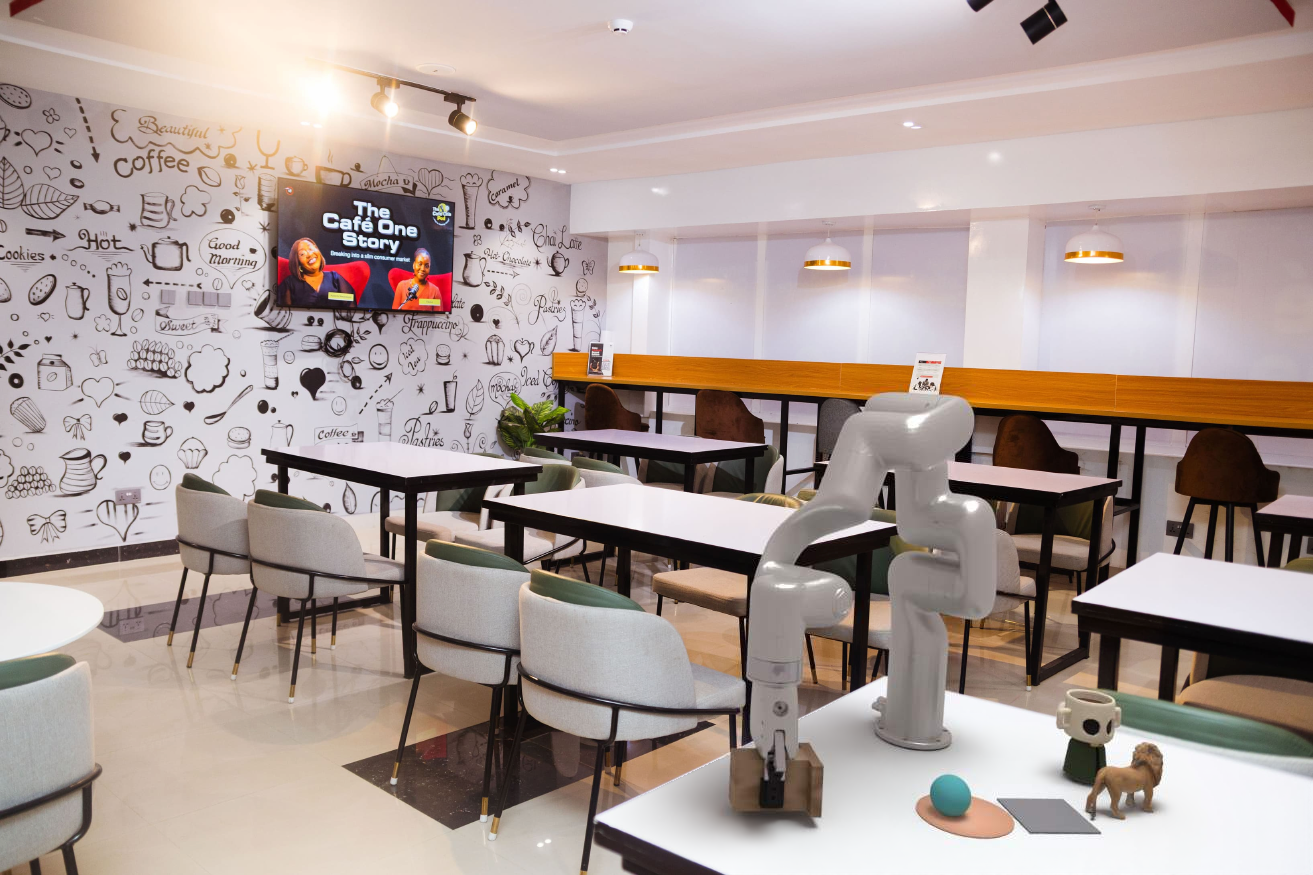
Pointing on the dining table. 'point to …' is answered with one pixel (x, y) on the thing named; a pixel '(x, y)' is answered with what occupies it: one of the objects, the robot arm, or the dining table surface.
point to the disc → (969, 819)
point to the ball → (950, 795)
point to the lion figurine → (1129, 779)
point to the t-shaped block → (799, 781)
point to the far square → (1048, 816)
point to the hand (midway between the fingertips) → (767, 797)
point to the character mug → (1087, 731)
